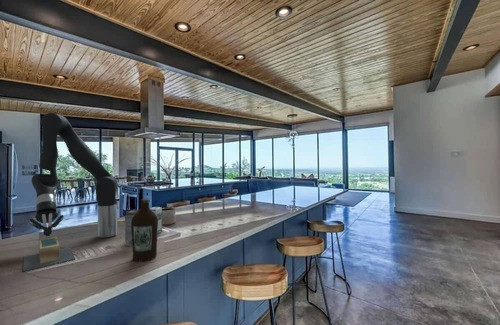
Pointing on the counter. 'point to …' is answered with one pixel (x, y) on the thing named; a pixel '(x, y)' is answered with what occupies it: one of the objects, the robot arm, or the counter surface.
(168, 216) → the planter
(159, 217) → the syrup box
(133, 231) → the olive oil
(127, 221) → the coffee box
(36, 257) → the rubber mat
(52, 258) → the oak block
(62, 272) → the counter surface
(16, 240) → the counter surface
